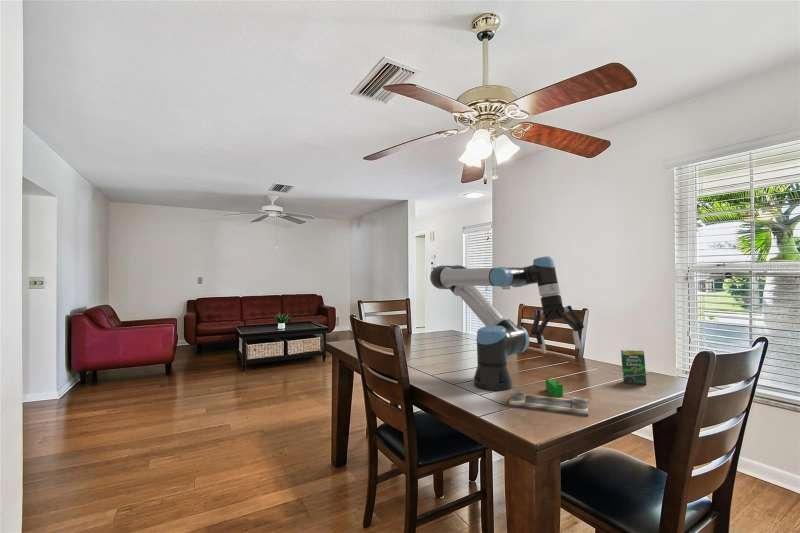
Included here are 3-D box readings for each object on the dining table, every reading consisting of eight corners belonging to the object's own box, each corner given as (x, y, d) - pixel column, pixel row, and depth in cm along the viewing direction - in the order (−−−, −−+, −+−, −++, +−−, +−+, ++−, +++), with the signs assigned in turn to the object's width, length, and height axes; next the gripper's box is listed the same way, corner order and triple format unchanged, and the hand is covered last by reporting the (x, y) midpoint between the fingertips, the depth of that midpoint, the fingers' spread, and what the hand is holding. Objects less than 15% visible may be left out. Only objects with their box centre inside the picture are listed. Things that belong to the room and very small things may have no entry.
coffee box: (622, 383, 148) (621, 350, 149) (622, 381, 151) (620, 349, 151) (646, 385, 145) (645, 352, 145) (645, 383, 147) (644, 350, 148)
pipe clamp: (565, 400, 130) (565, 387, 130) (554, 399, 130) (554, 387, 130) (556, 390, 141) (555, 378, 141) (546, 390, 141) (545, 378, 142)
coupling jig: (508, 405, 125) (507, 394, 125) (512, 396, 134) (512, 386, 134) (589, 416, 114) (589, 404, 114) (588, 405, 123) (588, 394, 123)
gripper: (522, 298, 139) (533, 355, 136) (585, 290, 141) (598, 346, 137) (516, 300, 147) (526, 354, 143) (576, 292, 148) (587, 345, 144)
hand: (561, 350), depth 140 cm, fingers open, 13 cm apart
